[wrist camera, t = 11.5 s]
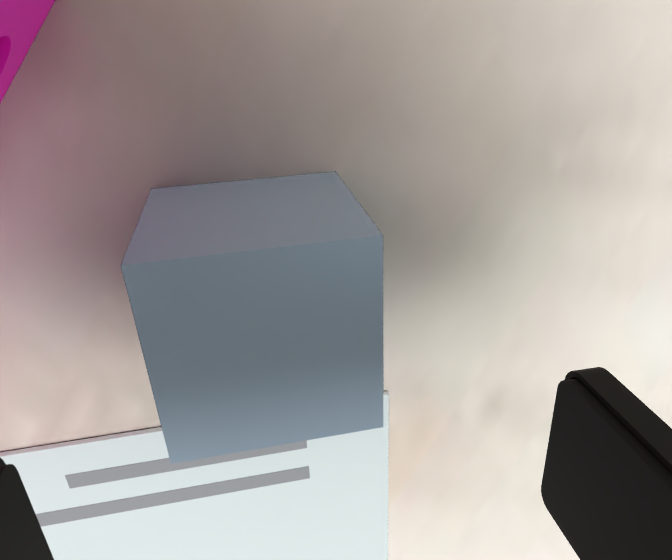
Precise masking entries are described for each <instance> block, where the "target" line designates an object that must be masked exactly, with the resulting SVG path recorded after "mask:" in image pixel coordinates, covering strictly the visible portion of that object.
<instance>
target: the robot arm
mask: <svg viewBox="0 0 672 560" xmlns="http://www.w3.org/2000/svg"><path fill="white" fill-rule="evenodd" d="M541 493H542V498H543V501H544V504H545V506H546V508H547V509H548V511H549V513H550V514H551V516H552V517H553V519H554V520H555V522H556V523H557V525H558V526H559V528H560V529H561V531H562V532H563V534H564V535H565V537H566V539H567V540H568V542H569V543H570V545H571V546H572V548H573V549H574V551H575V552H576V554H577V555H578V557H579V558H580V560H672V429H671V428H670V427H669V426H668V425H667V424H666V423H665V422H664V421H663V420H661V419H660V418H659V417H658V416H657V415H656V414H655V413H654V412H653V411H652V410H650V409H649V408H648V407H647V406H646V405H645V404H644V403H643V402H642V401H641V400H639V399H638V398H637V397H636V396H635V395H634V394H633V393H632V392H631V391H629V390H628V389H627V388H626V387H625V386H624V385H623V384H622V383H621V382H620V381H618V380H617V379H616V378H615V377H614V376H613V375H612V374H611V373H610V372H609V371H607V370H606V369H604V368H601V367H596V368H590V369H583V370H576V371H571V372H569V373H568V374H567V375H566V377H565V380H564V381H561V382H560V383H559V385H558V388H557V394H556V400H555V406H554V412H553V418H552V424H551V431H550V437H549V443H548V449H547V455H546V461H545V467H544V473H543V479H542V485H541ZM0 560H54V558H53V556H52V553H51V551H50V548H49V546H48V543H47V541H46V539H45V536H44V534H43V531H42V529H41V526H40V524H39V521H38V519H37V517H36V514H35V512H34V509H33V507H32V504H31V502H30V499H29V497H28V495H27V492H26V490H25V487H24V485H23V482H22V480H21V477H20V475H19V472H18V470H17V468H16V467H15V466H14V465H13V464H7V465H6V464H5V462H4V460H3V459H1V458H0Z"/></svg>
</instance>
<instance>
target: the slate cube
mask: <svg viewBox="0 0 672 560" xmlns="http://www.w3.org/2000/svg"><path fill="white" fill-rule="evenodd" d="M121 268H122V272H123V276H124V280H125V284H126V288H127V292H128V296H129V300H130V304H131V308H132V312H133V316H134V320H135V324H136V328H137V332H138V336H139V340H140V344H141V348H142V352H143V356H144V360H145V364H146V368H147V372H148V375H149V379H150V383H151V387H152V391H153V395H154V399H155V403H156V407H157V411H158V415H159V419H160V423H161V427H162V431H163V435H164V439H165V443H166V447H167V451H168V455H169V459H170V463H171V464H173V463H179V462H185V461H191V460H196V459H202V458H208V457H214V456H220V455H225V454H231V453H237V452H243V451H248V450H254V449H260V448H266V447H272V446H277V445H283V444H289V443H295V442H300V441H306V440H312V439H318V438H324V437H329V436H335V435H341V434H347V433H352V432H358V431H364V430H370V429H376V428H381V427H383V234H382V233H381V232H380V230H379V229H378V228H377V226H376V225H375V224H374V222H373V221H372V220H371V218H370V217H369V216H368V214H367V213H366V212H365V210H364V209H363V208H362V206H361V205H360V203H359V202H358V201H357V199H356V198H355V197H354V195H353V194H352V193H351V191H350V190H349V189H348V187H347V186H346V185H345V183H344V182H343V181H342V179H341V178H340V177H339V175H338V174H337V173H336V171H335V172H324V173H314V174H303V175H292V176H282V177H271V178H260V179H250V180H239V181H229V182H218V183H207V184H197V185H186V186H175V187H165V188H154V189H151V191H150V193H149V196H148V198H147V201H146V203H145V206H144V208H143V211H142V213H141V216H140V218H139V221H138V223H137V226H136V228H135V231H134V233H133V236H132V238H131V241H130V243H129V246H128V248H127V251H126V253H125V256H124V258H123V261H122V263H121Z"/></svg>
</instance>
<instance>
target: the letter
mask: <svg viewBox="0 0 672 560" xmlns="http://www.w3.org/2000/svg"><path fill="white" fill-rule="evenodd" d="M388 440H389V394H388V392H387V391H384V392H383V427H381V428H376V429H370V430H364V431H358V432H352V433H347V434H341V435H335V436H329V437H324V438H318V439H312V440H306V441H300V442H295V443H289V444H283V445H277V446H272V447H266V448H260V449H254V450H248V451H243V452H237V453H231V454H225V455H220V456H214V457H208V458H202V459H196V460H191V461H185V462H179V463H173V464H171V463H170V459H169V455H168V451H167V447H166V443H165V439H164V435H163V431H162V427H157V428H151V429H145V430H138V431H132V432H126V433H120V434H113V435H107V436H101V437H94V438H88V439H82V440H75V441H69V442H63V443H57V444H50V445H44V446H38V447H31V448H25V449H19V450H12V451H6V452H0V458H1V459H3V460H4V462H5V464H6V465H7V464H13V465H14V466H15V467H16V468H17V470H18V472H19V475H20V477H21V480H22V482H23V485H24V487H25V490H26V492H27V495H28V497H29V499H30V502H31V504H32V507H33V509H34V512H35V514H36V517H37V519H38V521H39V524H40V526H41V529H42V531H43V534H44V536H45V539H46V541H47V543H48V546H49V548H50V551H51V553H52V556H53V558H54V560H388Z"/></svg>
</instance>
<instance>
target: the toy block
mask: <svg viewBox="0 0 672 560" xmlns="http://www.w3.org/2000/svg"><path fill="white" fill-rule="evenodd" d="M54 2H55V0H0V103H1V101H2V99H3V97H4V95H5V94H6V92H7V90H8V88H9V86H10V84H11V82H12V80H13V79H14V77H15V75H16V73H17V71H18V69H19V67H20V65H21V64H22V62H23V60H24V58H25V56H26V54H27V52H28V50H29V49H30V47H31V45H32V43H33V41H34V39H35V37H36V35H37V34H38V32H39V30H40V28H41V26H42V24H43V22H44V20H45V19H46V17H47V15H48V13H49V11H50V9H51V7H52V5H53V4H54Z"/></svg>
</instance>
